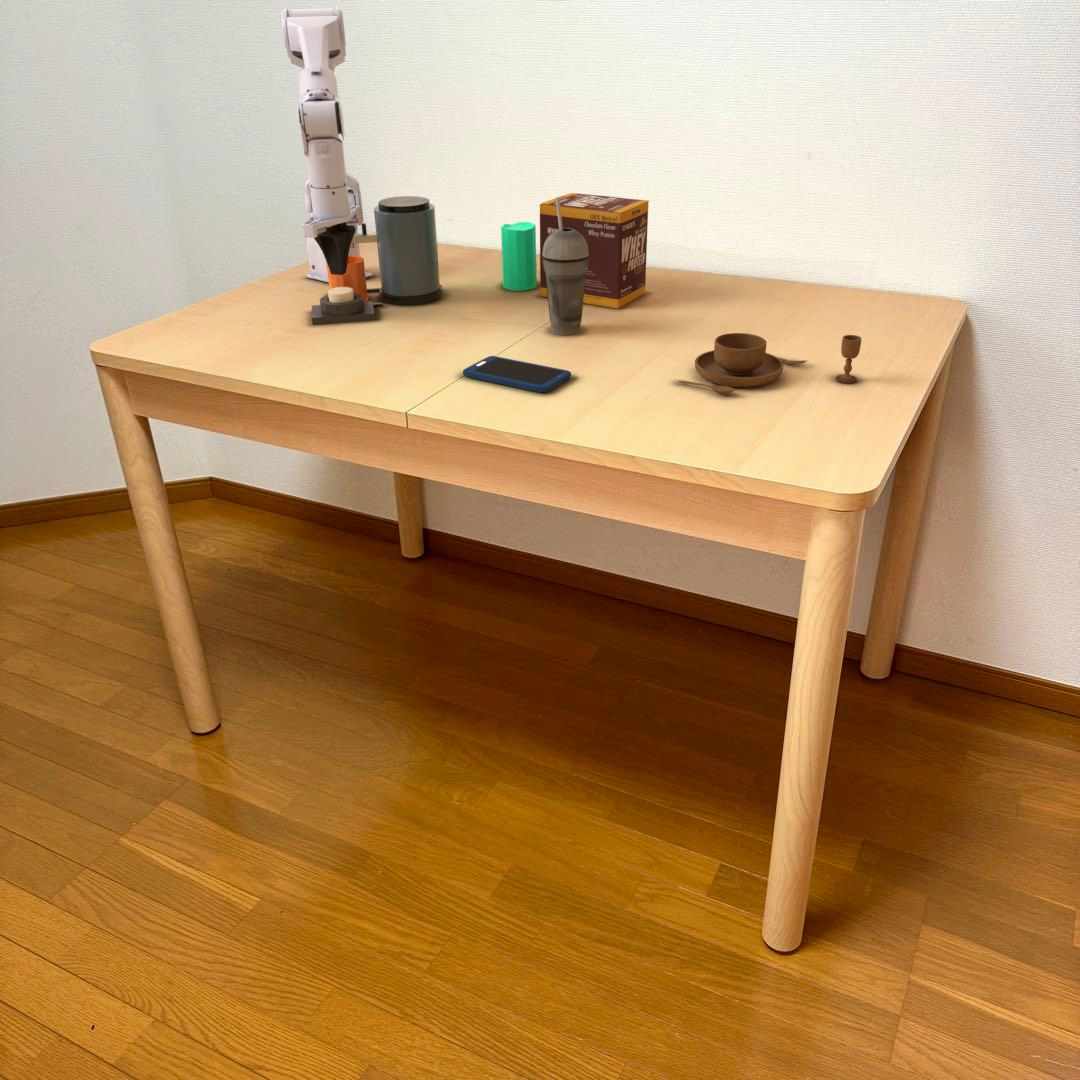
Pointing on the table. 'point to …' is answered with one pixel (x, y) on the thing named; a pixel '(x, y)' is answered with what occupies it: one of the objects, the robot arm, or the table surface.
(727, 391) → the place setting
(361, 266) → the cup
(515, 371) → the cell phone
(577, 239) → the beverage cup
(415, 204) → the dispenser
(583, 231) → the supplement box
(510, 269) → the candle
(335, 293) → the button
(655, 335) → the table surface
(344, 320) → the button block
